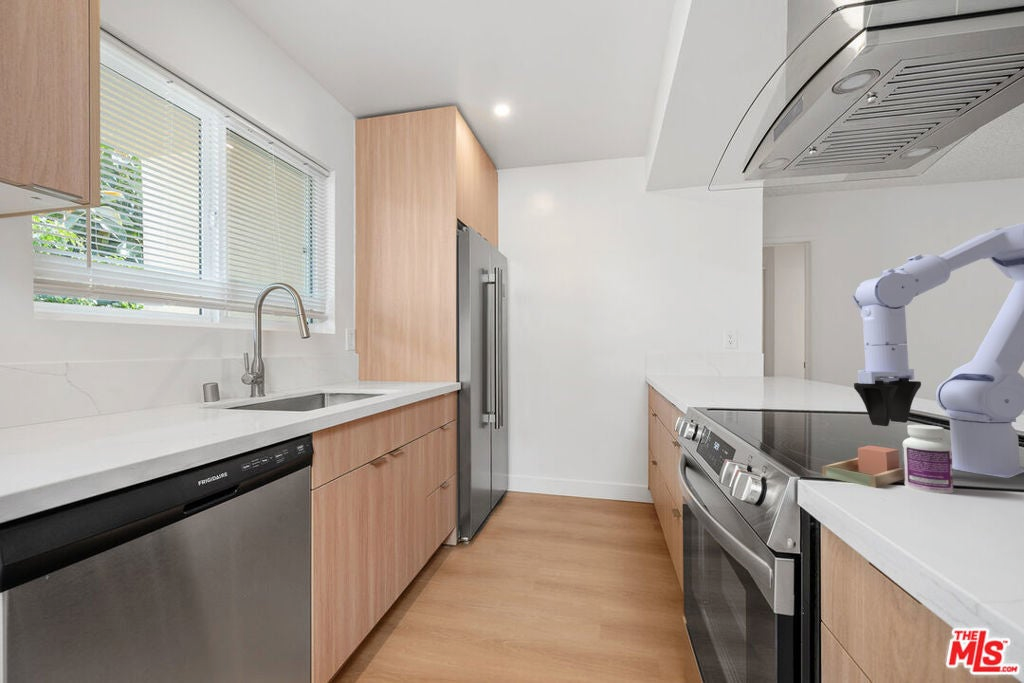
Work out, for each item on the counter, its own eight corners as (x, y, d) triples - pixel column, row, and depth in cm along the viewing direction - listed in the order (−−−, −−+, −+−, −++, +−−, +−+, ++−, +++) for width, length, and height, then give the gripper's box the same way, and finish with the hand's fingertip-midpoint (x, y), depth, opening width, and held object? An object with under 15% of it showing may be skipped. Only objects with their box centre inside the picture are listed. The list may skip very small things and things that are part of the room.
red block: (871, 468, 76) (869, 445, 76) (899, 473, 72) (898, 449, 72) (858, 471, 74) (857, 448, 74) (887, 477, 70) (886, 452, 70)
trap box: (872, 466, 79) (872, 454, 79) (925, 475, 73) (924, 462, 73) (822, 479, 72) (821, 466, 72) (875, 491, 65) (875, 476, 65)
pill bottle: (964, 498, 62) (961, 429, 62) (920, 496, 63) (917, 429, 63) (935, 486, 67) (932, 423, 67) (895, 485, 68) (893, 423, 68)
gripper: (878, 345, 83) (883, 417, 82) (836, 346, 76) (840, 424, 76) (927, 343, 76) (932, 421, 76) (885, 345, 70) (890, 430, 69)
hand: (889, 423), depth 75 cm, fingers open, 6 cm apart
